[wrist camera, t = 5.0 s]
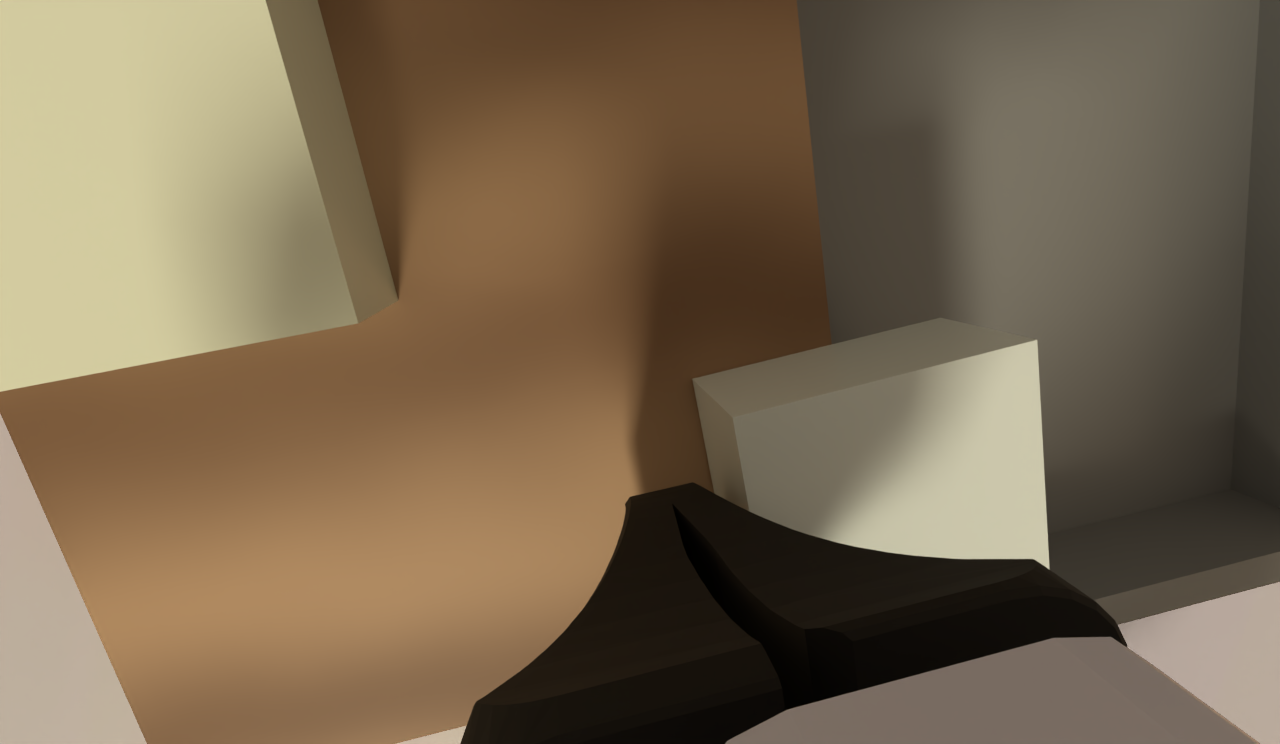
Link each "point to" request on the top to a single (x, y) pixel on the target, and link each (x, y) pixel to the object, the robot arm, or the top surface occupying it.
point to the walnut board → (449, 372)
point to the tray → (1080, 251)
